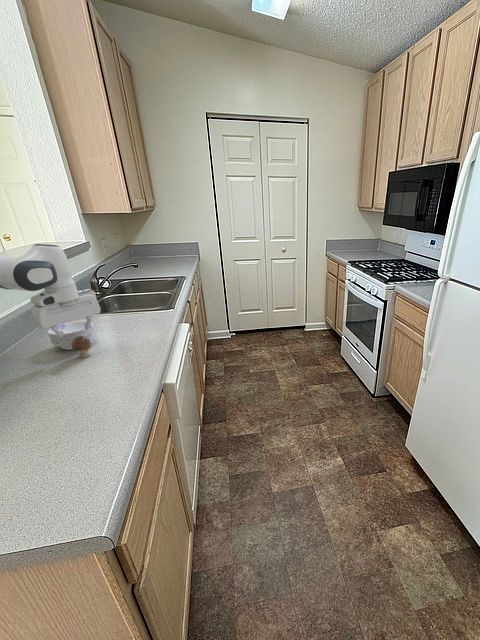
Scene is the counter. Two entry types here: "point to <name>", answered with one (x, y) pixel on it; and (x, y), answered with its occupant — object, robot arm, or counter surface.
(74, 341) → the mushroom
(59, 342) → the paper bowls
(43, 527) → the counter surface
